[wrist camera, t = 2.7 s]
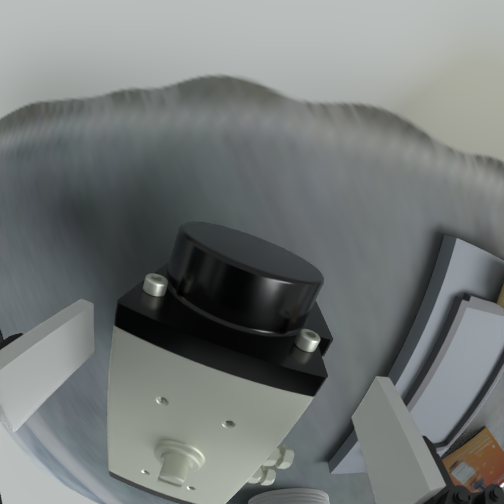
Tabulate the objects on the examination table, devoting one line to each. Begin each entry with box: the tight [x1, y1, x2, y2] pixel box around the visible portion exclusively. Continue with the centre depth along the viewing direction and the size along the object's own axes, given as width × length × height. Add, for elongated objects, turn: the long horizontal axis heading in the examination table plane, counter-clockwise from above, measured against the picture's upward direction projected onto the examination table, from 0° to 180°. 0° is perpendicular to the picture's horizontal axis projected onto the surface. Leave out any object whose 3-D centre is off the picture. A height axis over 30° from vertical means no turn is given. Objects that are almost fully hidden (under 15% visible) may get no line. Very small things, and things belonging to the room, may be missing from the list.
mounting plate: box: [328, 234, 504, 474], centre depth 15 cm, size 23×15×5 cm, turn 166°
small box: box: [442, 427, 504, 493], centre depth 15 cm, size 8×6×10 cm
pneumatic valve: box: [107, 222, 333, 504], centre depth 11 cm, size 6×12×12 cm, turn 160°
